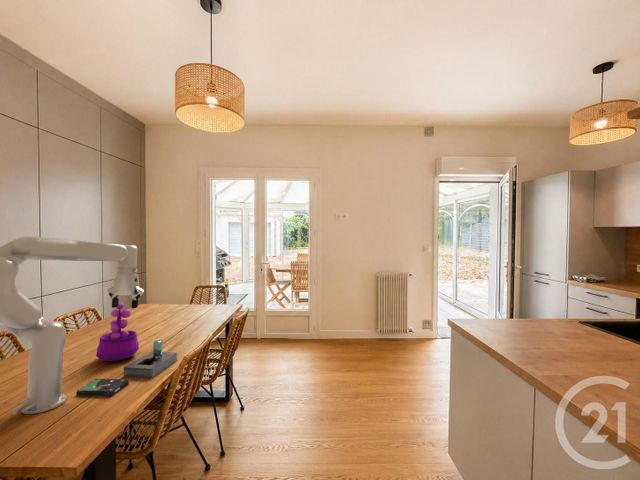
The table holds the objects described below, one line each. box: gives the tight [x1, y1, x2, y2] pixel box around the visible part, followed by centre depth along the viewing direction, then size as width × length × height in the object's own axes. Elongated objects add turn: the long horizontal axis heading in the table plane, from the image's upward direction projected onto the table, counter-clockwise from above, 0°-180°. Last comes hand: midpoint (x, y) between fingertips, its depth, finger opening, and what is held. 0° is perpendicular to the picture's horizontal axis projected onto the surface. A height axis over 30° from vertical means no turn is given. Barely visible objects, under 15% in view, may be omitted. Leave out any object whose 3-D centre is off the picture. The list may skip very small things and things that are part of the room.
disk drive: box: [76, 378, 130, 397], centre depth 121 cm, size 10×3×15 cm
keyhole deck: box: [123, 350, 178, 379], centre depth 143 cm, size 20×14×4 cm
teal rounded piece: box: [151, 339, 164, 365], centre depth 147 cm, size 5×5×12 cm
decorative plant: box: [95, 301, 140, 362], centre depth 154 cm, size 19×18×30 cm
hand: (124, 307), depth 135 cm, fingers open, 9 cm apart
